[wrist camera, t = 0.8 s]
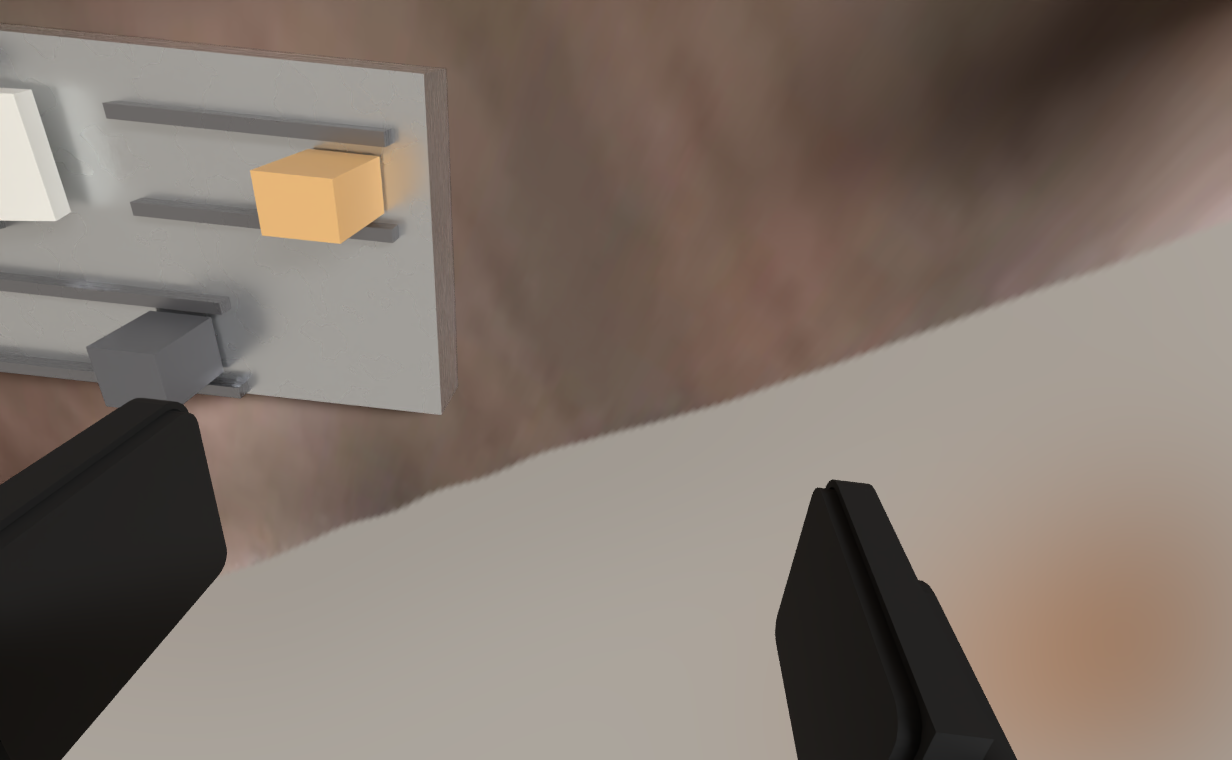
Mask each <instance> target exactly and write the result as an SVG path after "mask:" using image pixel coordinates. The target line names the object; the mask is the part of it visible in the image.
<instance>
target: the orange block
mask: <svg viewBox="0 0 1232 760" xmlns="http://www.w3.org/2000/svg"><path fill="white" fill-rule="evenodd" d="M250 173H251V179H252V184H253V190H254V195H255V201H256V206H257V212H258V217H259V222H260V228H261V233H262V236H271V237H281V238H290V239H299V240H309V241H318V242H328V243H337V244H341V243H342V242H344V241H345V240H347V239H348V238H350V237H351V236H352V235H354V234H355V233H357V232H358V231H360V230H361V229H363V228H364V227H365V226H367V225H368V224H370V223H371V222H373V221H374V220H375V219H377V218H378V217H380V216H381V215H383V214H384V203H383V191H382V180H381V169H380V157H379V156H373V155H363V154H353V153H344V152H334V151H325V150H315V149H307V150H304V151H301V152H298V153H296V154H293V155H290V156H288V157H285V158H282V159H279V160H277V161H274V162H271V163H268V164H266V165H263V166H260V167H258V168H255V169H252V170H250Z"/></svg>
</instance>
